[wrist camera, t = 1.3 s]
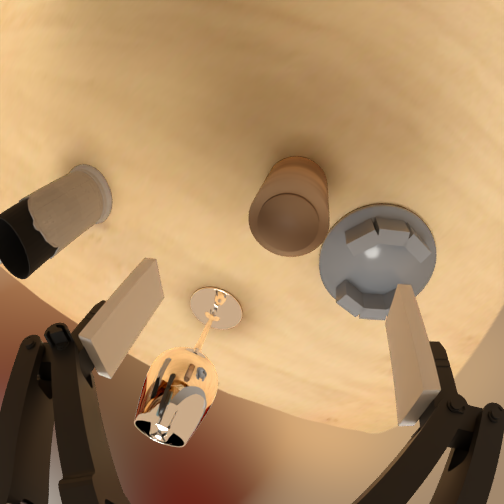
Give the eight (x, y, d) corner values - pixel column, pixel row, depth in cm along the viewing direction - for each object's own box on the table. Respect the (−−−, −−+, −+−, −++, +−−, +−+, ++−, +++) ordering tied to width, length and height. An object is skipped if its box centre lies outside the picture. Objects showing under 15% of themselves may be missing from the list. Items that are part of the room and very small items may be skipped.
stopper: (267, 154, 30) (245, 182, 21) (329, 158, 28) (333, 188, 20) (267, 210, 33) (247, 256, 25) (324, 215, 32) (325, 264, 23)
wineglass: (202, 275, 39) (129, 403, 22) (253, 305, 40) (208, 443, 23) (182, 310, 43) (119, 424, 26) (228, 336, 44) (182, 456, 27)
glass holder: (122, 209, 37) (45, 273, 24) (68, 243, 42) (5, 298, 29) (91, 152, 33) (1, 197, 21) (42, 197, 39) (-28, 243, 26)
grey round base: (325, 197, 30) (325, 210, 27) (447, 212, 28) (458, 226, 25) (313, 303, 38) (311, 322, 35) (416, 311, 35) (421, 330, 32)
